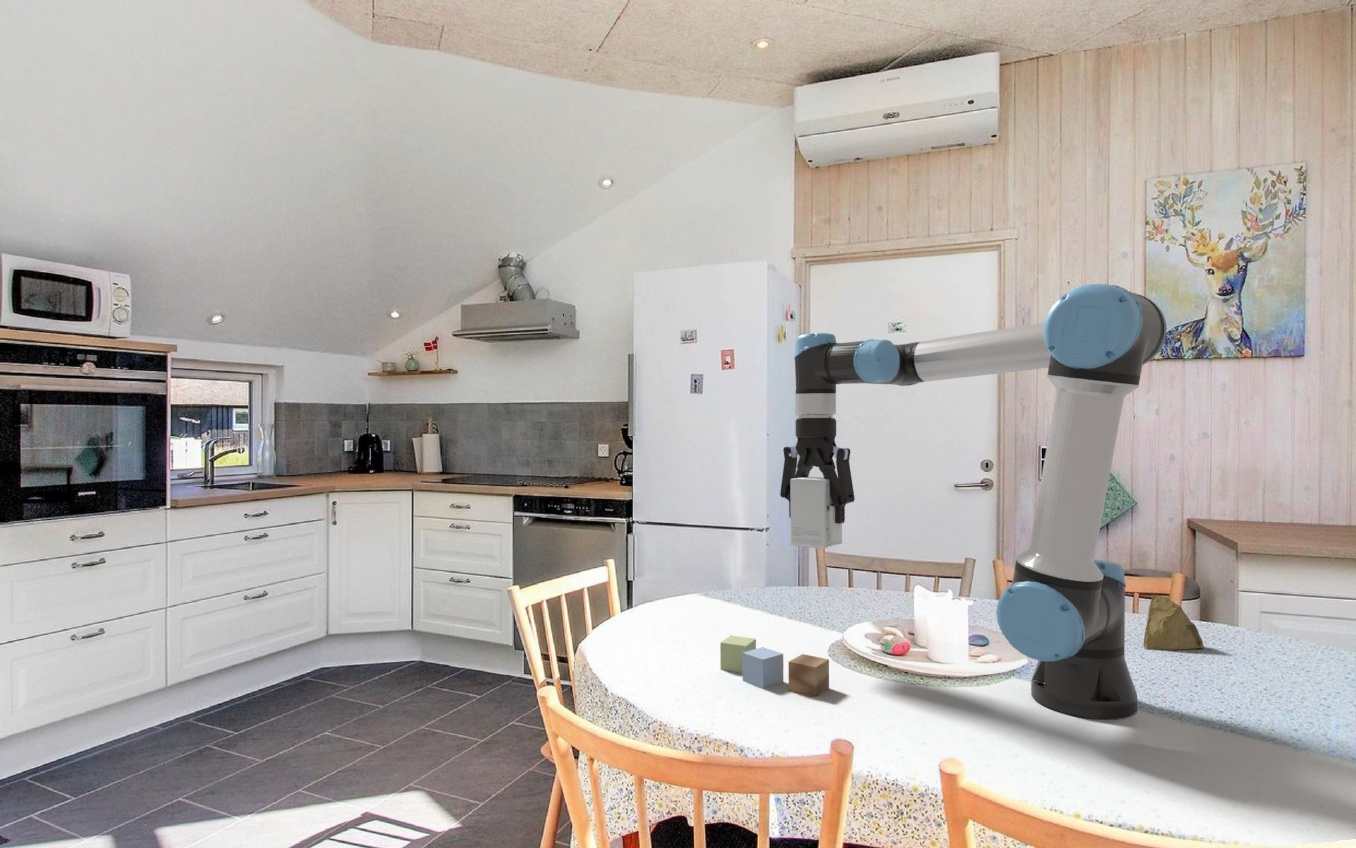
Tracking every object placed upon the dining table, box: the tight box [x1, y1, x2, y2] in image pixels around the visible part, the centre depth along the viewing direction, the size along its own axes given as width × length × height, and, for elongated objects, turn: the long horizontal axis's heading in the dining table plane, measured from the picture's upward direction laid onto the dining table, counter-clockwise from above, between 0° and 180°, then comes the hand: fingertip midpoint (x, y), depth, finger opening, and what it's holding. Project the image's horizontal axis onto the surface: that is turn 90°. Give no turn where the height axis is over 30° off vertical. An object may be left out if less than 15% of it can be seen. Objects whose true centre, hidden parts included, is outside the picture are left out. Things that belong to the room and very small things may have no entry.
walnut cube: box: [788, 653, 830, 698], centre depth 130 cm, size 5×5×5 cm
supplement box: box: [790, 476, 843, 550], centre depth 144 cm, size 7×7×13 cm
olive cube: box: [719, 635, 757, 674], centre depth 142 cm, size 5×5×5 cm
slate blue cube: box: [742, 646, 784, 689], centre depth 134 cm, size 5×5×5 cm
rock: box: [1143, 594, 1205, 651], centre depth 151 cm, size 11×9×10 cm
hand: (816, 538), depth 144 cm, fingers closed on supplement box, 8 cm apart
